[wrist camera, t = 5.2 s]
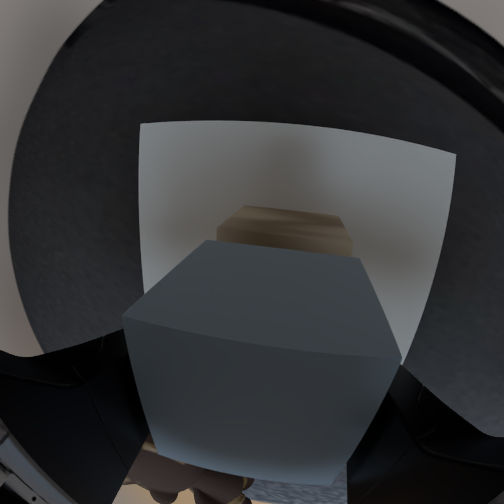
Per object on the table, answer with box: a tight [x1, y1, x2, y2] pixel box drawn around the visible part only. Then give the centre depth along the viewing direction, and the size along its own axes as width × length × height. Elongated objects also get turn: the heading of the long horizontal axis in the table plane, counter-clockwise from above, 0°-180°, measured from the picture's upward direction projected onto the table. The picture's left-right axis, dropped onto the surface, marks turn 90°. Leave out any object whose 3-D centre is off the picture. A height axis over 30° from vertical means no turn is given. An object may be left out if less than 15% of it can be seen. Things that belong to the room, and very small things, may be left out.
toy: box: [122, 432, 254, 504], centre depth 19 cm, size 11×8×15 cm
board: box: [139, 121, 456, 365], centre depth 16 cm, size 18×14×1 cm
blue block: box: [121, 240, 402, 485], centre depth 8 cm, size 5×5×5 cm
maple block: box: [216, 205, 353, 257], centre depth 13 cm, size 5×5×5 cm
